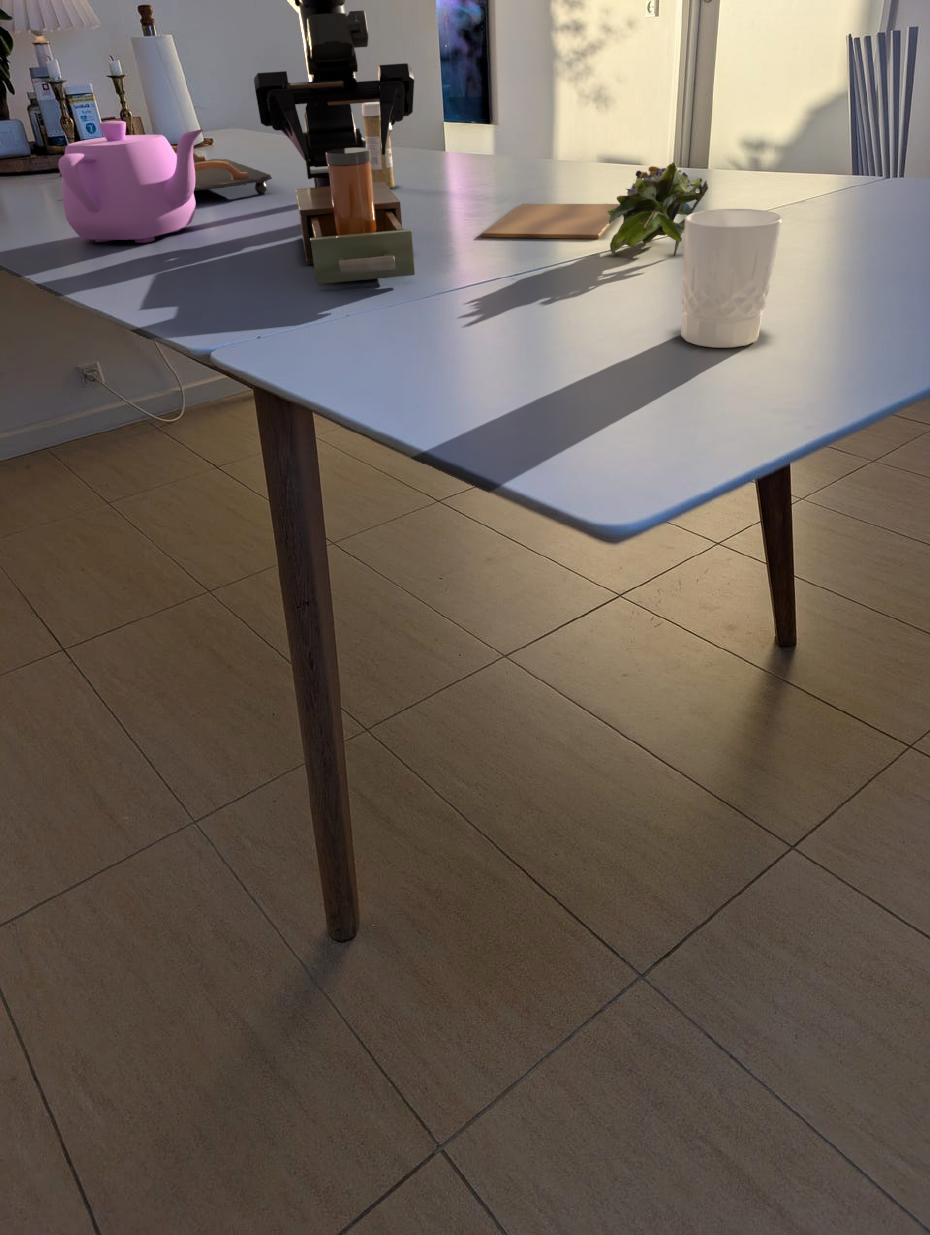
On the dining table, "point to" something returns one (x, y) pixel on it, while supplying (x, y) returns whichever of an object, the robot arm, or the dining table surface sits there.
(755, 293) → the white cup
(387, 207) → the cabinet
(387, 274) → the drawer
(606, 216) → the wooden cutting board
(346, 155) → the spice bottle
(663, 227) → the green leafy plant
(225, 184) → the serving tray
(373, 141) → the sprinkles bottle
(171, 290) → the dining table surface
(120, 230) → the teapot
